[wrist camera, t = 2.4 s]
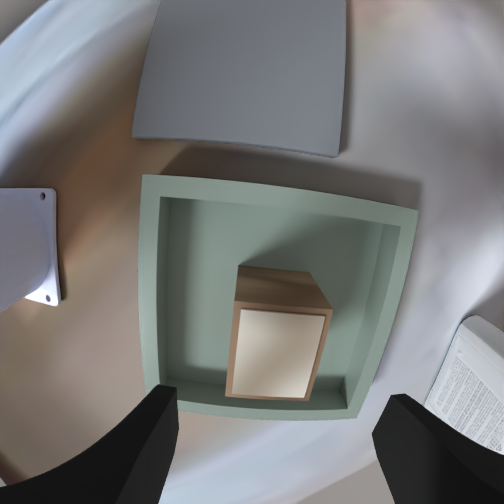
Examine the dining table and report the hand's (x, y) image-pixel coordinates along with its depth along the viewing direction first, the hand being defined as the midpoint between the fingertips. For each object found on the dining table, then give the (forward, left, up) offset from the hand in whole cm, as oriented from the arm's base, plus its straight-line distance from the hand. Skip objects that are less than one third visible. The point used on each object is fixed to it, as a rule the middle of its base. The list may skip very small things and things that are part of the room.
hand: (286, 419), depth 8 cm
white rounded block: (+17, -5, -9) cm, 20 cm away
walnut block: (0, 0, -9) cm, 9 cm away
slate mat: (-3, +15, -9) cm, 17 cm away
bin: (0, 0, -9) cm, 9 cm away
